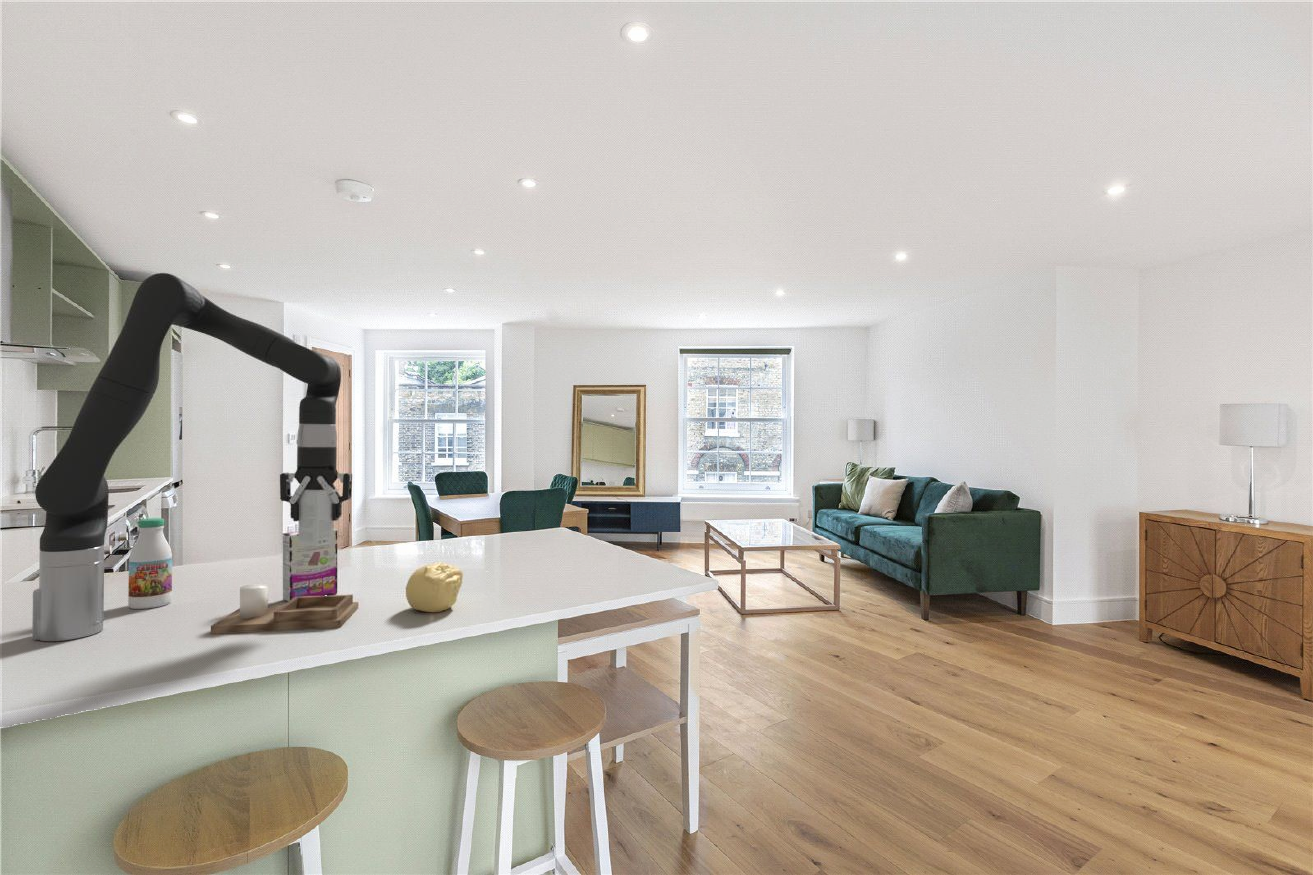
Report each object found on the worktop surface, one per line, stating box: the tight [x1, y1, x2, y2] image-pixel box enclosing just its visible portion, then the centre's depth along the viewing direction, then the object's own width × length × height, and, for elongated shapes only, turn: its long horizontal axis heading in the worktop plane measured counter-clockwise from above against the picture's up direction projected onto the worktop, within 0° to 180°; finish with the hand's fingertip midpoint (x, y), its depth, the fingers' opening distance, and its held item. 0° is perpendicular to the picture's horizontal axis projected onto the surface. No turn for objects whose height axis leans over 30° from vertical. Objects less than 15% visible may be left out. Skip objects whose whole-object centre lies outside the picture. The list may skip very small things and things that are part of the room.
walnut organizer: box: [210, 583, 359, 635], centre depth 130 cm, size 24×14×8 cm, turn 103°
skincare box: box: [297, 489, 334, 546], centre depth 131 cm, size 6×4×12 cm
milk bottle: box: [127, 517, 173, 610], centre depth 139 cm, size 8×8×20 cm
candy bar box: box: [282, 528, 338, 603], centre depth 148 cm, size 11×5×16 cm, turn 143°
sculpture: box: [405, 561, 464, 613], centre depth 140 cm, size 12×12×11 cm
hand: (316, 520), depth 131 cm, fingers closed on skincare box, 7 cm apart
